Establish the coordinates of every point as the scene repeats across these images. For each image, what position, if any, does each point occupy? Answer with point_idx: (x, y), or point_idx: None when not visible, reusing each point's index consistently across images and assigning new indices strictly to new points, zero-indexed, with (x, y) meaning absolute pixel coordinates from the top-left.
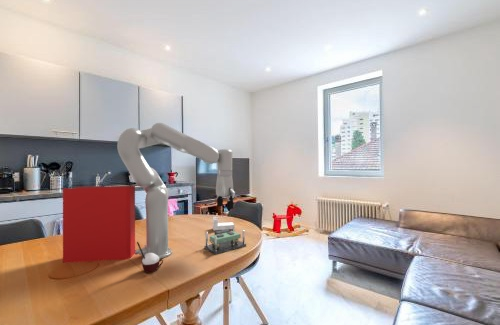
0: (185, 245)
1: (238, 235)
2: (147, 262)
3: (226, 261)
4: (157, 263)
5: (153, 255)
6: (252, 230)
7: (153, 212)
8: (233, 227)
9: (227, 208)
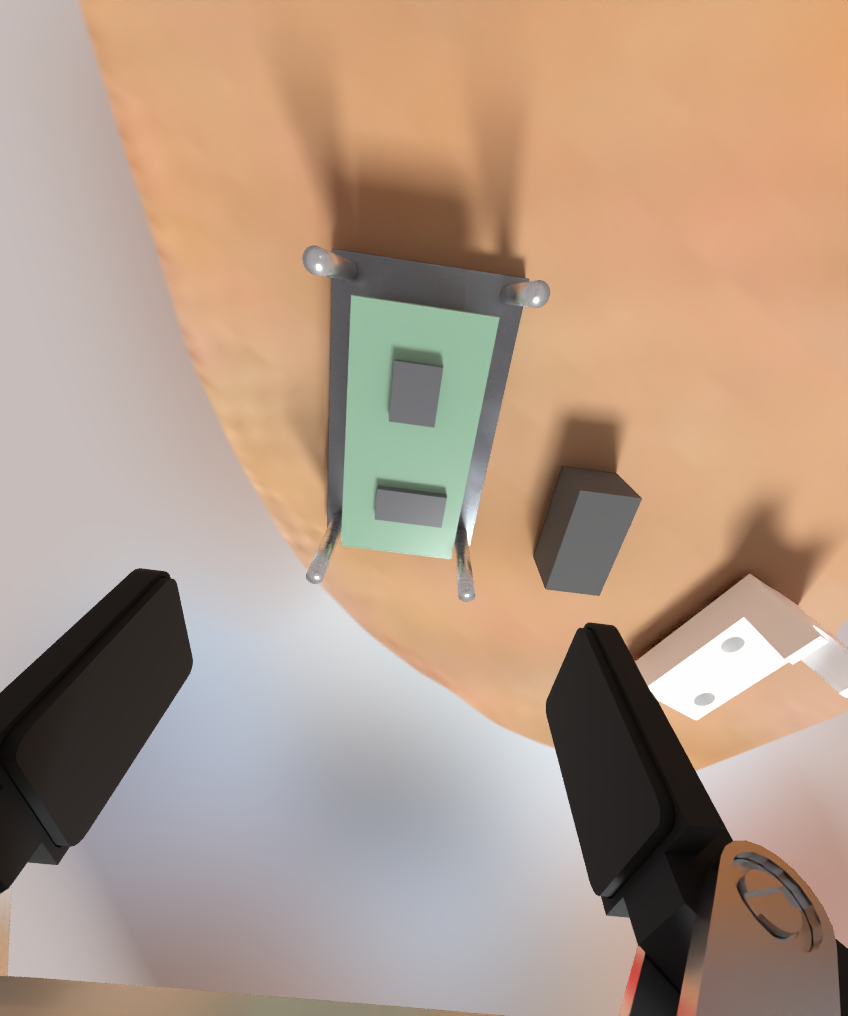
0: (734, 175)
1: (342, 523)
2: None
3: (164, 229)
4: None
5: None
6: (519, 708)
7: None
8: (461, 586)
9: (136, 575)
